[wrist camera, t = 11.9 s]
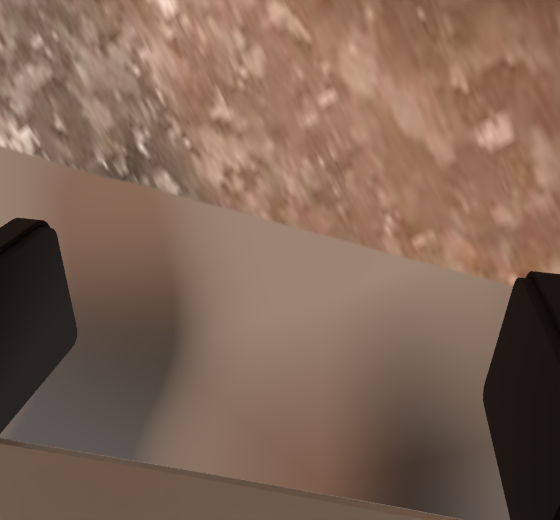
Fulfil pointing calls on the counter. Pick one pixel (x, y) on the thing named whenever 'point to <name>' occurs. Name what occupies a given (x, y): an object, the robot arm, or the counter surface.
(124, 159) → the counter surface
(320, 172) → the counter surface
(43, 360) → the robot arm
